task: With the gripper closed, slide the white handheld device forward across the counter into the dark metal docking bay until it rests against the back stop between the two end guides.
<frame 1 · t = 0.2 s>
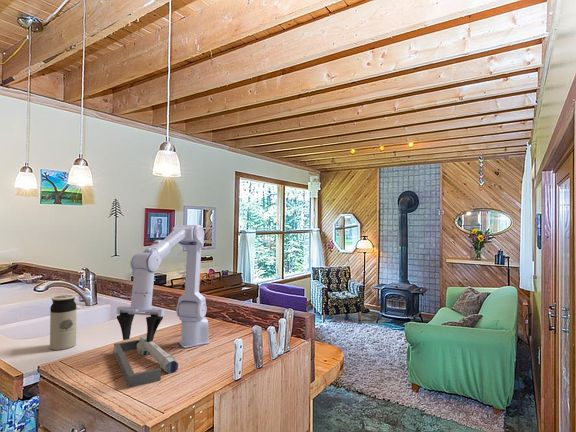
hand: (137, 340, 104), 11 cm above the counter, tool pointing down, fingers open, 7 cm apart
docking bay: (139, 364, 113), on the counter
white handheld device: (156, 362, 116), on the counter
travel mug: (63, 347, 129), on the counter
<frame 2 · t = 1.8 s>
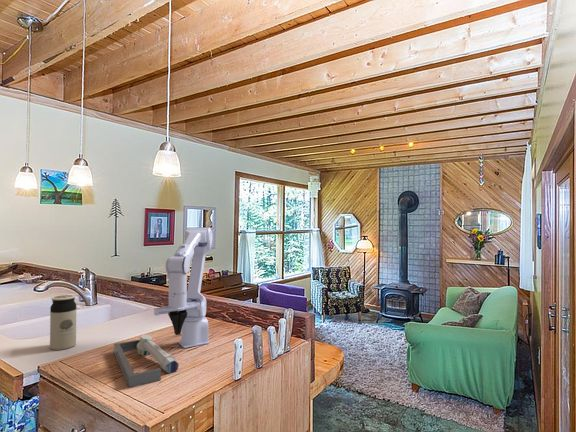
hand: (177, 334, 117), 8 cm above the counter, tool pointing down, fingers closed
nothing on the counter moved.
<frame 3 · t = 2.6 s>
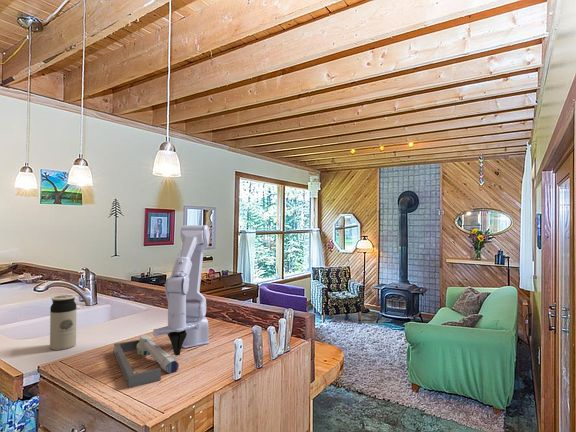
hand: (176, 354, 117), 1 cm above the counter, tool pointing down, fingers closed
nothing on the counter moved.
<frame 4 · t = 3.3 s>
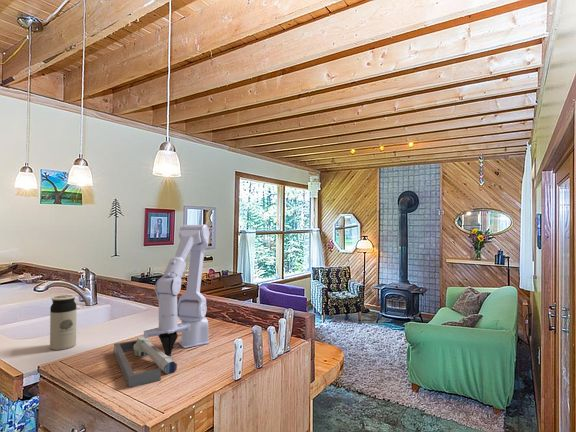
hand: (167, 356, 116), 1 cm above the counter, tool pointing down, fingers closed
white handheld device: (153, 363, 115), on the counter, touching gripper
everything else where it was.
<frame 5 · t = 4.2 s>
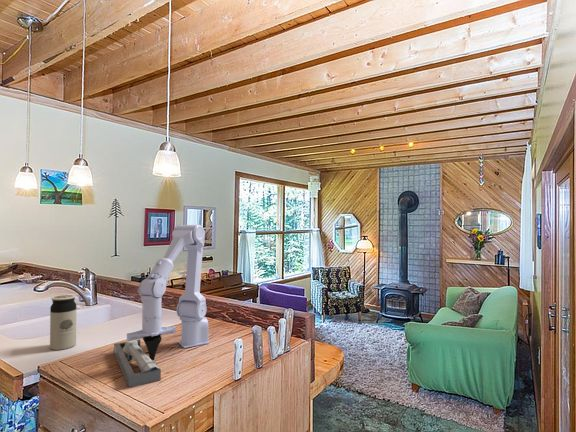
hand: (151, 359, 113), 1 cm above the counter, tool pointing down, fingers closed
white handheld device: (139, 367, 111), on the counter, touching docking bay, gripper
everything else where it was.
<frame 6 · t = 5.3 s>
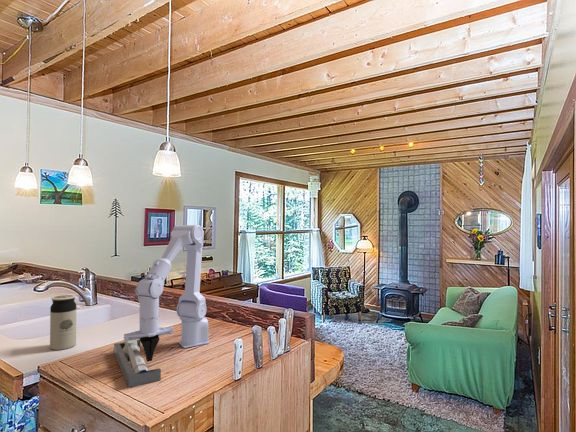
hand: (149, 360, 113), 1 cm above the counter, tool pointing down, fingers closed
white handheld device: (135, 368, 111), on the counter, touching docking bay
everything else where it was.
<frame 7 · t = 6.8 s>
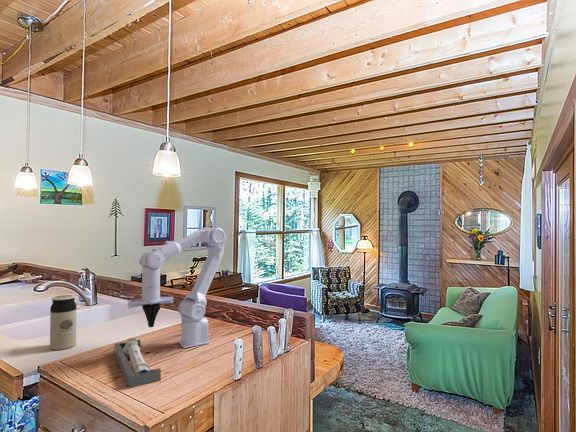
hand: (150, 326, 122), 9 cm above the counter, tool pointing down, fingers closed
white handheld device: (135, 368, 111), on the counter
everything else where it was.
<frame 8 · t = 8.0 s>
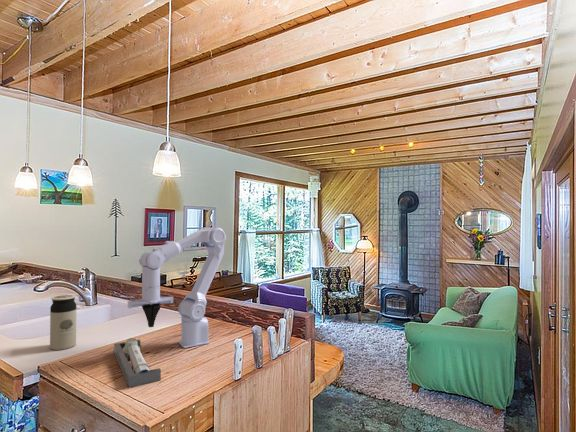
hand: (150, 326, 122), 9 cm above the counter, tool pointing down, fingers closed
nothing on the counter moved.
at the end: white handheld device 1.8 cm off-centre on the docking bay, point -0.5 cm above the docking bay's base; white handheld device tilted 0°; white handheld device moved 6.5 cm from its start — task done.
